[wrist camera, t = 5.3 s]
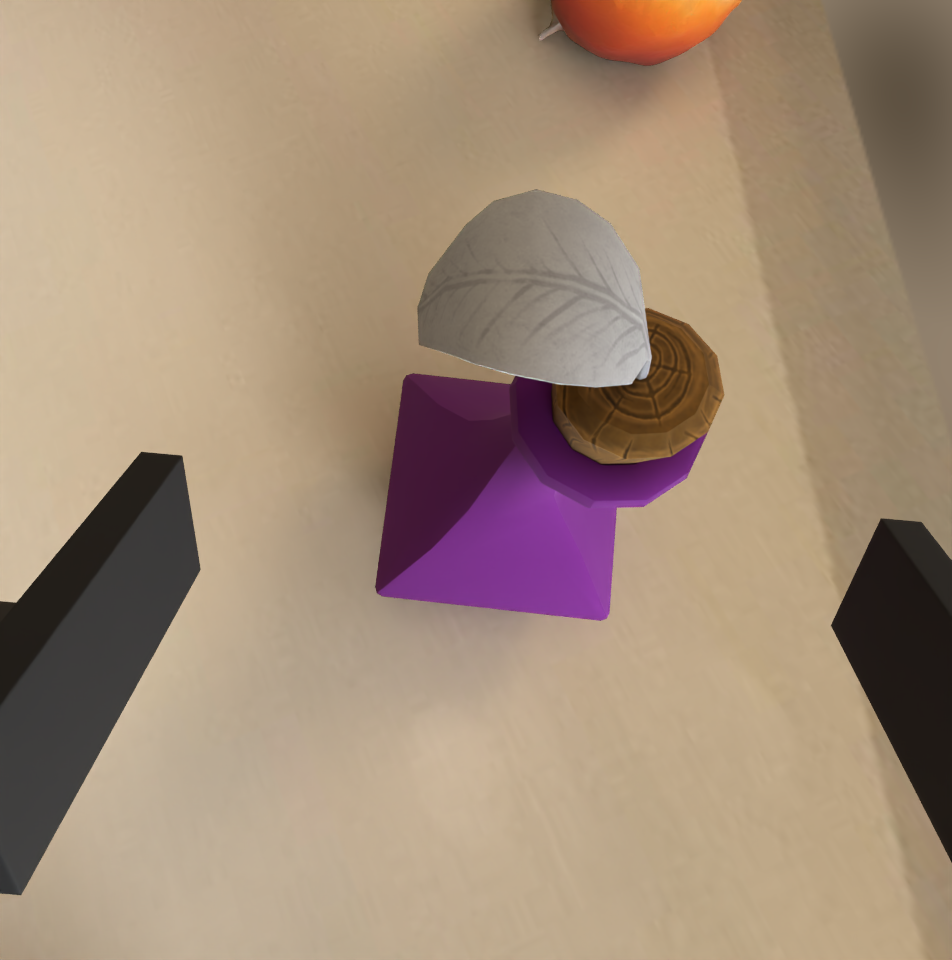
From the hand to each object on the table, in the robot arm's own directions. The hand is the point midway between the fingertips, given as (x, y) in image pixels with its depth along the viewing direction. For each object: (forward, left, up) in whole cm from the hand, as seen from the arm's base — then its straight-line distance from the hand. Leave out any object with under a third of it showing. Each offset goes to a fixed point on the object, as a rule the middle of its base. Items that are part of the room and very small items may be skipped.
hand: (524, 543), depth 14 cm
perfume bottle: (0, +3, -13) cm, 13 cm away
